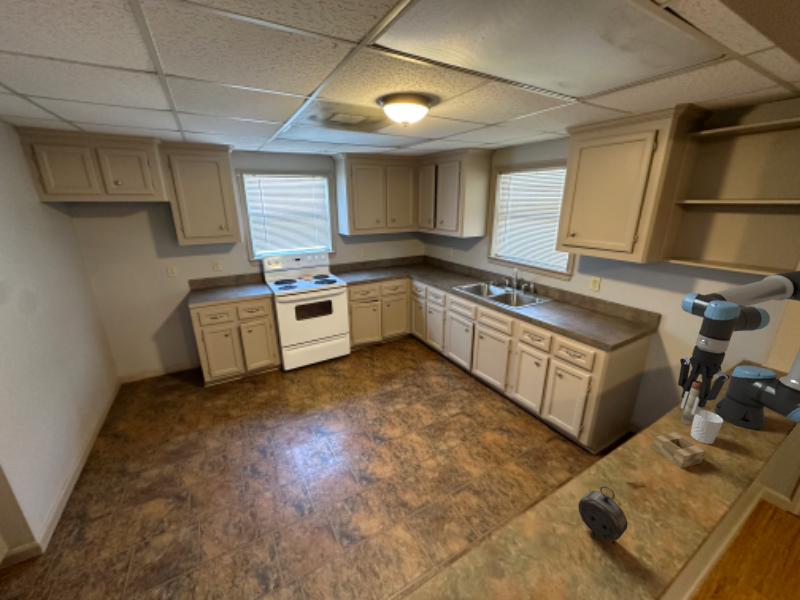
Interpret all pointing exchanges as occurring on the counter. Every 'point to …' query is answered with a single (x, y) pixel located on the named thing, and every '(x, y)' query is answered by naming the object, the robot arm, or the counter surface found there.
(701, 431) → the white cup
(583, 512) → the alarm clock
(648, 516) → the counter surface
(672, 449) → the bead block
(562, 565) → the counter surface
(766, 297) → the robot arm
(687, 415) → the brown-tipped rod
